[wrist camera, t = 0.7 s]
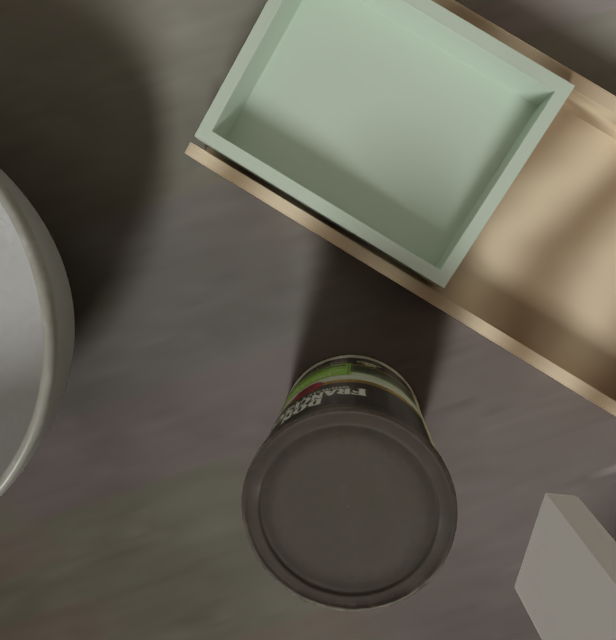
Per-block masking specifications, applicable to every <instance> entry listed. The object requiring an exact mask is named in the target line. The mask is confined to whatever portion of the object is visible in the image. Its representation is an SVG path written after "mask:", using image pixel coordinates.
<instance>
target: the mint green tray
mask: <svg viewBox="0 0 616 640" xmlns="http://www.w3.org/2000/svg"><path fill="white" fill-rule="evenodd" d="M574 87H575V86H574V85H573V84H571V83H569V82H568V81H566V80H564V79H563V78H561V77H559V76H558V75H556V74H554V73H553V72H551V71H549V70H548V69H546V68H544V67H543V66H541V65H539V64H537V63H536V62H534V61H532V60H531V59H529V58H527V57H526V56H524V55H522V54H521V53H519V52H517V51H516V50H514V49H512V48H511V47H509V46H507V45H506V44H504V43H502V42H501V41H499V40H497V39H495V38H494V37H492V36H490V35H489V34H487V33H485V32H484V31H482V30H480V29H479V28H477V27H475V26H474V25H472V24H470V23H469V22H467V21H465V20H464V19H462V18H460V17H459V16H457V15H455V14H454V13H452V12H450V11H448V10H447V9H445V8H443V7H442V6H440V5H438V4H437V3H435V2H433V1H432V0H268V1H267V3H266V5H265V7H264V9H263V11H262V12H261V14H260V16H259V18H258V20H257V22H256V23H255V25H254V27H253V29H252V31H251V33H250V35H249V36H248V38H247V40H246V42H245V44H244V46H243V47H242V49H241V51H240V53H239V55H238V57H237V58H236V60H235V62H234V64H233V66H232V68H231V70H230V71H229V73H228V75H227V77H226V79H225V81H224V82H223V84H222V86H221V88H220V90H219V92H218V93H217V95H216V97H215V99H214V101H213V103H212V105H211V106H210V108H209V110H208V112H207V114H206V116H205V117H204V119H203V121H202V123H201V125H200V127H199V128H198V130H197V132H196V134H195V137H196V138H198V139H199V140H200V141H201V142H203V143H204V144H205V145H207V146H208V147H209V148H211V149H212V150H213V151H215V152H217V153H218V154H220V155H222V156H223V157H225V158H227V159H228V160H230V161H231V162H233V163H235V164H236V165H238V166H240V167H241V168H243V169H245V170H246V171H248V172H249V173H251V174H253V175H254V176H256V177H258V178H259V179H261V180H263V181H264V182H266V183H268V184H269V185H271V186H272V187H274V188H276V189H277V190H279V191H281V192H282V193H284V194H286V195H287V196H289V197H290V198H292V199H294V200H295V201H297V202H299V203H300V204H302V205H304V206H305V207H307V208H309V209H310V210H312V211H313V212H315V213H317V214H318V215H320V216H322V217H323V218H325V219H327V220H328V221H330V222H331V223H333V224H335V225H336V226H338V227H340V228H341V229H343V230H345V231H346V232H348V233H350V234H351V235H353V236H354V237H356V238H358V239H359V240H361V241H363V242H364V243H366V244H368V245H369V246H371V247H373V248H374V249H376V250H377V251H379V252H381V253H382V254H384V255H386V256H387V257H389V258H391V259H392V260H394V261H395V262H397V263H399V264H400V265H402V266H404V267H405V268H407V269H409V270H410V271H412V272H414V273H415V274H417V275H418V276H420V277H422V278H423V279H425V280H427V281H428V282H430V283H432V284H433V285H435V286H438V287H442V288H445V286H446V285H447V283H448V281H449V280H450V278H451V277H452V275H453V274H454V272H455V271H456V269H457V268H458V266H459V264H460V263H461V261H462V260H463V258H464V257H465V255H466V254H467V252H468V251H469V249H470V248H471V246H472V244H473V243H474V241H475V240H476V238H477V237H478V235H479V234H480V232H481V231H482V229H483V227H484V226H485V224H486V223H487V221H488V220H489V218H490V217H491V215H492V214H493V212H494V210H495V209H496V207H497V206H498V204H499V203H500V201H501V200H502V198H503V197H504V195H505V193H506V192H507V190H508V189H509V187H510V186H511V184H512V183H513V181H514V180H515V178H516V176H517V175H518V173H519V172H520V170H521V169H522V167H523V166H524V164H525V163H526V161H527V159H528V158H529V156H530V155H531V153H532V152H533V150H534V149H535V147H536V146H537V144H538V142H539V141H540V139H541V138H542V136H543V135H544V133H545V132H546V130H547V129H548V127H549V125H550V124H551V122H552V121H553V119H554V118H555V116H556V115H557V113H558V112H559V110H560V109H561V107H562V105H563V104H564V102H565V101H566V99H567V98H568V96H569V95H570V93H571V92H572V90H573V88H574Z"/></svg>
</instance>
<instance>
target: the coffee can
mask: <svg viewBox="0 0 616 640" xmlns="http://www.w3.org/2000/svg"><path fill="white" fill-rule="evenodd" d="M242 519H243V525H244V529H245V533H246V536H247V539H248V542H249V544H250V546H251V548H252V550H253V552H254V554H255V556H256V558H257V560H258V561H259V563H260V564H261V565H262V567H263V568H264V569H265V570H266V572H267V573H268V574H269V575H270V576H271V577H272V578H273V579H274V580H275V581H276V582H277V583H278V584H279V585H280V586H282V587H283V588H284V589H286V590H287V591H288V592H290V593H291V594H293V595H295V596H296V597H298V598H300V599H302V600H304V601H306V602H309V603H311V604H314V605H316V606H319V607H323V608H326V609H331V610H337V611H346V612H363V611H371V610H377V609H380V608H385V607H388V606H391V605H394V604H396V603H399V602H401V601H403V600H405V599H407V598H409V597H410V596H412V595H413V594H415V593H416V592H418V591H419V590H420V589H421V588H423V587H424V586H425V585H426V584H427V583H428V582H429V581H430V580H431V579H432V578H433V577H434V576H435V575H436V573H437V572H438V571H439V569H440V568H441V566H442V565H443V564H444V562H445V560H446V558H447V556H448V553H449V551H450V549H451V546H452V543H453V540H454V536H455V532H456V524H457V500H456V493H455V489H454V485H453V482H452V479H451V476H450V474H449V471H448V469H447V467H446V465H445V464H444V462H443V460H442V458H441V456H440V455H439V453H438V452H437V450H436V448H435V446H434V443H433V441H432V438H431V436H430V433H429V431H428V428H427V426H426V423H425V421H424V419H423V416H422V414H421V411H420V408H419V404H418V401H417V399H416V396H415V394H414V392H413V390H412V388H411V387H410V385H409V384H408V383H407V382H406V380H405V379H404V378H403V377H402V376H401V375H400V374H399V373H398V372H397V371H395V370H394V369H393V368H391V367H390V366H388V365H386V364H385V363H383V362H381V361H378V360H376V359H373V358H370V357H366V356H359V355H343V356H336V357H332V358H329V359H326V360H323V361H321V362H319V363H317V364H315V365H314V366H312V367H311V368H309V369H308V370H307V371H305V372H304V373H303V374H302V375H301V376H300V377H299V379H298V380H297V381H296V383H295V384H294V385H293V387H292V389H291V390H290V392H289V395H288V397H287V399H286V402H285V404H284V406H283V408H282V410H281V412H280V414H279V416H278V418H277V420H276V422H275V424H274V426H273V428H272V430H271V431H270V433H269V435H268V437H267V439H266V441H265V442H264V443H263V445H262V446H261V447H260V449H259V450H258V452H257V453H256V455H255V457H254V459H253V461H252V463H251V465H250V467H249V469H248V472H247V475H246V478H245V481H244V486H243V492H242Z"/></svg>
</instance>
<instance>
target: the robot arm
mask: <svg viewBox="0 0 616 640" xmlns="http://www.w3.org/2000/svg"><path fill="white" fill-rule="evenodd" d="M514 588H515V590H516V592H517V593H518V595H519V597H520V599H521V601H522V603H523V605H524V607H525V609H526V610H527V612H528V614H529V616H530V618H531V620H532V622H533V624H534V626H535V627H536V629H537V631H538V633H539V635H540V637H541V639H542V640H616V542H615V540H614V539H613V538H612V537H611V536H610V535H609V533H608V532H607V531H606V530H605V529H604V527H603V526H602V525H601V524H600V523H599V522H598V520H597V519H596V518H595V517H594V516H593V514H592V513H591V512H590V511H589V510H588V509H587V507H586V506H585V505H584V504H583V503H582V501H581V500H580V499H579V498H578V497H577V496H572V495H562V494H552V493H545V496H544V499H543V502H542V505H541V508H540V511H539V514H538V517H537V520H536V523H535V526H534V529H533V532H532V535H531V538H530V541H529V544H528V547H527V550H526V553H525V556H524V559H523V562H522V565H521V568H520V571H519V574H518V577H517V580H516V583H515V586H514Z"/></svg>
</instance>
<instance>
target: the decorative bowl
mask: <svg viewBox="0 0 616 640" xmlns="http://www.w3.org/2000/svg"><path fill="white" fill-rule="evenodd" d="M74 339H75V320H74V308H73V300H72V295H71V289H70V285H69V281H68V277H67V274H66V270H65V268H64V265H63V262H62V259H61V257H60V254H59V252H58V250H57V247H56V245H55V243H54V241H53V239H52V237H51V235H50V233H49V231H48V229H47V228H46V226H45V224H44V223H43V221H42V219H41V218H40V216H39V215H38V213H37V212H36V210H35V209H34V207H33V206H32V205H31V203H30V202H29V200H28V199H27V198H26V196H25V195H24V194H23V193H22V192H21V190H20V189H19V188H18V187H17V186H16V184H15V183H14V182H13V181H12V180H11V179H10V178H9V177H8V176H7V175H6V174H5V173H4V172H3V171H2V170H1V169H0V497H1V496H2V494H3V493H4V492H5V491H6V490H7V489H8V488H9V487H10V486H11V485H12V483H13V482H14V481H15V480H16V479H17V477H18V476H19V475H20V474H21V472H22V471H23V470H24V468H25V467H26V466H27V464H28V463H29V461H30V460H31V458H32V457H33V455H34V454H35V452H36V451H37V449H38V448H39V446H40V444H41V443H42V441H43V439H44V437H45V436H46V434H47V432H48V430H49V429H50V427H51V424H52V422H53V420H54V418H55V416H56V414H57V412H58V409H59V407H60V404H61V401H62V399H63V396H64V393H65V390H66V386H67V383H68V379H69V375H70V370H71V365H72V360H73V351H74Z"/></svg>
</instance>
